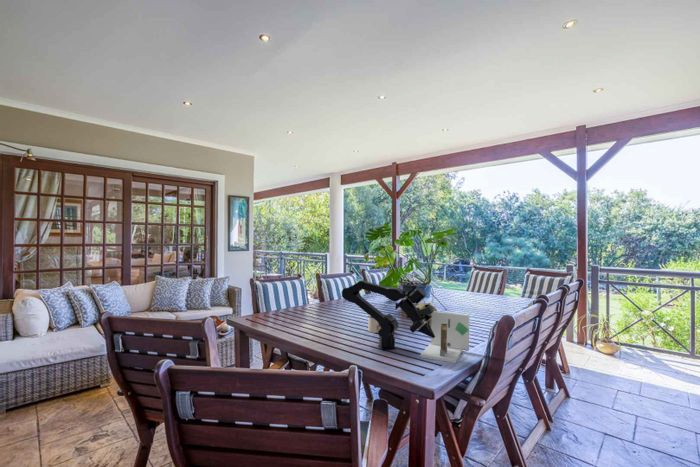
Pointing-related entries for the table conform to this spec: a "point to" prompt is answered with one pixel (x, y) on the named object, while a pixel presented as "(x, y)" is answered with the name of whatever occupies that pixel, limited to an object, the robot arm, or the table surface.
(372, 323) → the teacup with lid
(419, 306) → the cantaloupe
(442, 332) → the lever
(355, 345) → the table surface
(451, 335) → the gauge base
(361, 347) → the table surface
